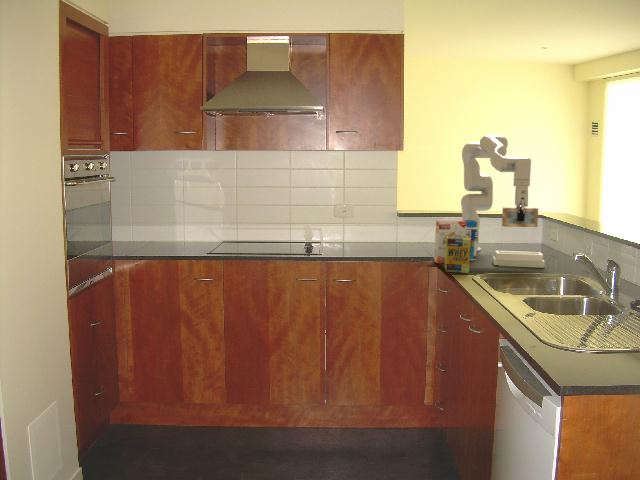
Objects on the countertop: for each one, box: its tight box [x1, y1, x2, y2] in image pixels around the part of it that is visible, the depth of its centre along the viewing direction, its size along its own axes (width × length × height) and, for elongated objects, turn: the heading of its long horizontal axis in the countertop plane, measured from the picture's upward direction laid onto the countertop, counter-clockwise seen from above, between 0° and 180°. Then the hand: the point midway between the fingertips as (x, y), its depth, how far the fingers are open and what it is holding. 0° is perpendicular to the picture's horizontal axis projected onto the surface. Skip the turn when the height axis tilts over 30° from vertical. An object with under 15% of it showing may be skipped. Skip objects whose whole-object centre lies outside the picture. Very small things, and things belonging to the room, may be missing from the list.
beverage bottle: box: [464, 220, 479, 262], centre depth 310 cm, size 8×8×20 cm
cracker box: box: [433, 220, 467, 264], centre depth 300 cm, size 14×6×21 cm, turn 96°
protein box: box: [444, 235, 470, 274], centre depth 282 cm, size 10×15×16 cm
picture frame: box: [501, 206, 539, 228], centre depth 296 cm, size 16×4×9 cm, turn 86°
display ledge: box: [492, 250, 546, 269], centre depth 297 cm, size 23×10×6 cm, turn 79°
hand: (519, 220), depth 296 cm, fingers closed on picture frame, 4 cm apart
